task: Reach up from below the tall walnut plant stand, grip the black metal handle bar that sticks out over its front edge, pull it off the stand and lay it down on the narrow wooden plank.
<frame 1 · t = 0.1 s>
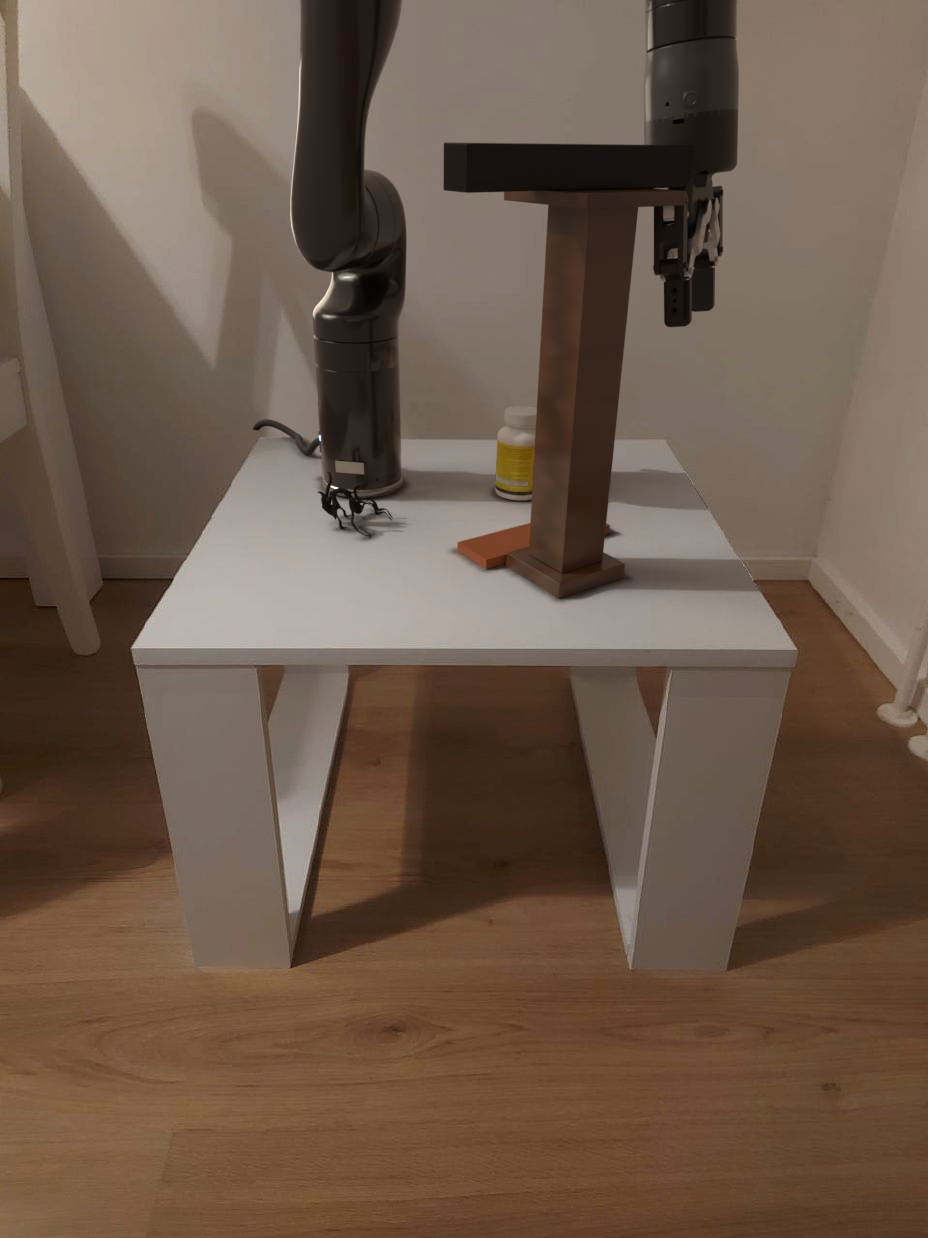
hand: (690, 318, 78), 22 cm above the table, tool pointing down, fingers open, 8 cm apart
wooden plank: (535, 542, 89), on the table
supplement bottle: (518, 494, 101), on the table
plant stand: (564, 571, 83), on the table
handle bar: (584, 188, 67), point 33 cm above the table, touching plant stand
creature: (358, 525, 93), on the table
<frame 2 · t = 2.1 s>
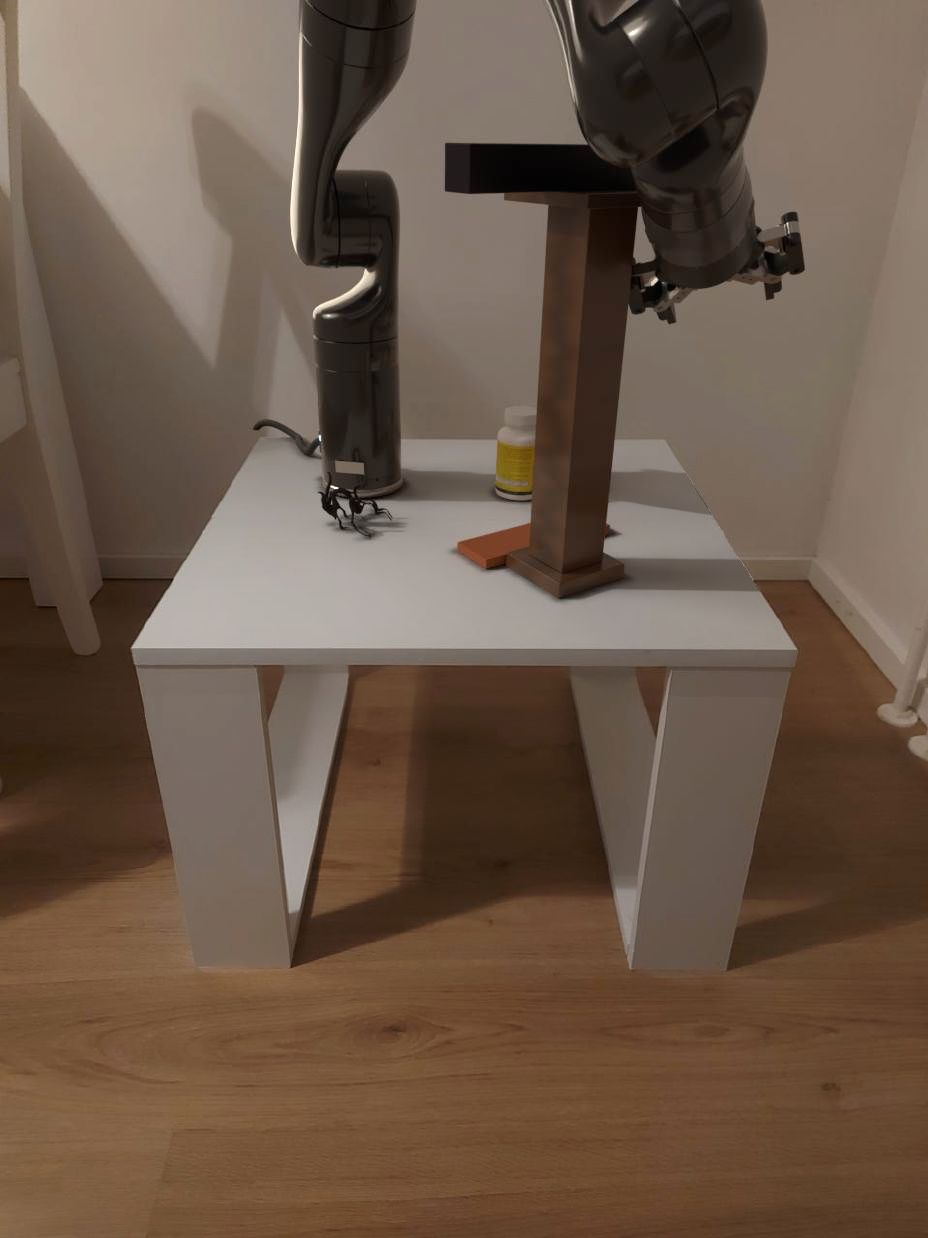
hand: (718, 301, 78), 24 cm above the table, tool tilted 60°, fingers open, 8 cm apart
handle bar: (574, 166, 66), point 34 cm above the table, tilted 90°, touching plant stand
everything else where it was.
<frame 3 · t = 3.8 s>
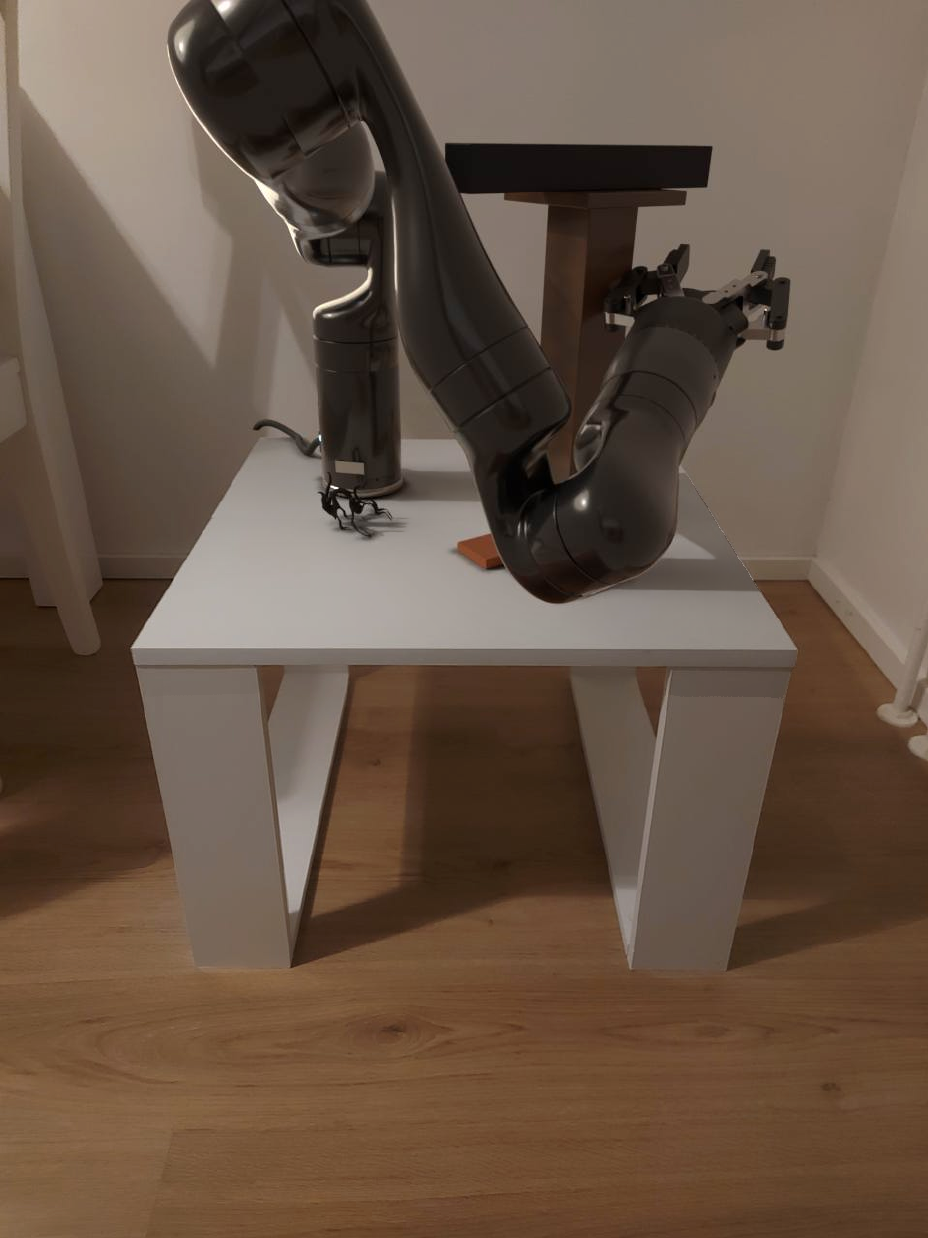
hand: (723, 257, 70), 28 cm above the table, tool pointing upward, fingers open, 5 cm apart
nothing on the table moved.
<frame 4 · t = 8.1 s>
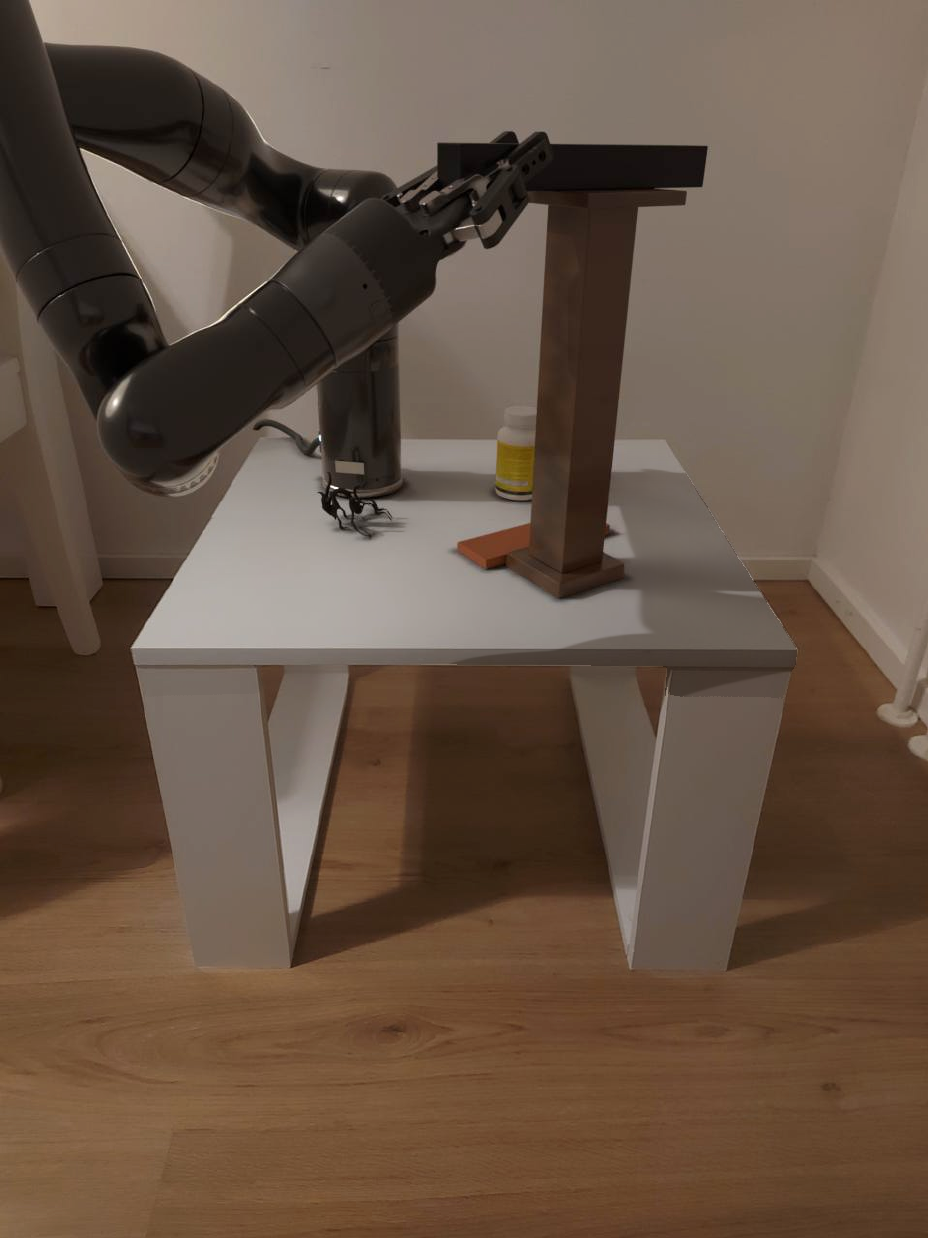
hand: (530, 144, 62), 36 cm above the table, tool pointing upward, fingers closed on handle bar, 3 cm apart
handle bar: (568, 165, 67), point 35 cm above the table, tilted 90°, touching gripper, plant stand
everything else where it was.
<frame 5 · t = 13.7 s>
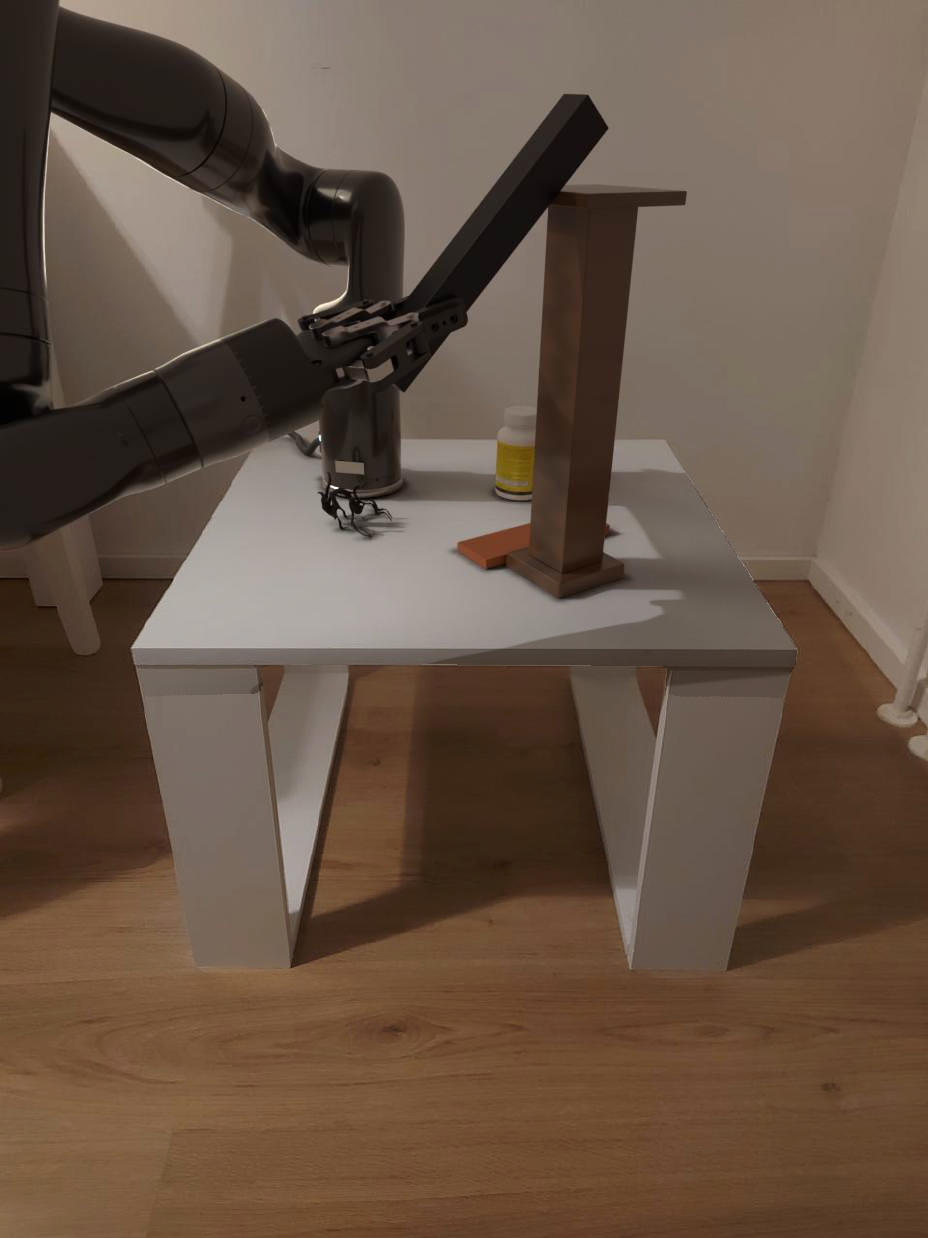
hand: (450, 304, 65), 25 cm above the table, tool pointing upward, fingers closed on handle bar, 3 cm apart
handle bar: (472, 241, 65), point 29 cm above the table, tilted 92°, touching gripper, plant stand
everything else where it was.
when the fingers open (6 cm above the table, at t = 19.5 s): handle bar drops 9 cm and tips over, resting on wooden plank.
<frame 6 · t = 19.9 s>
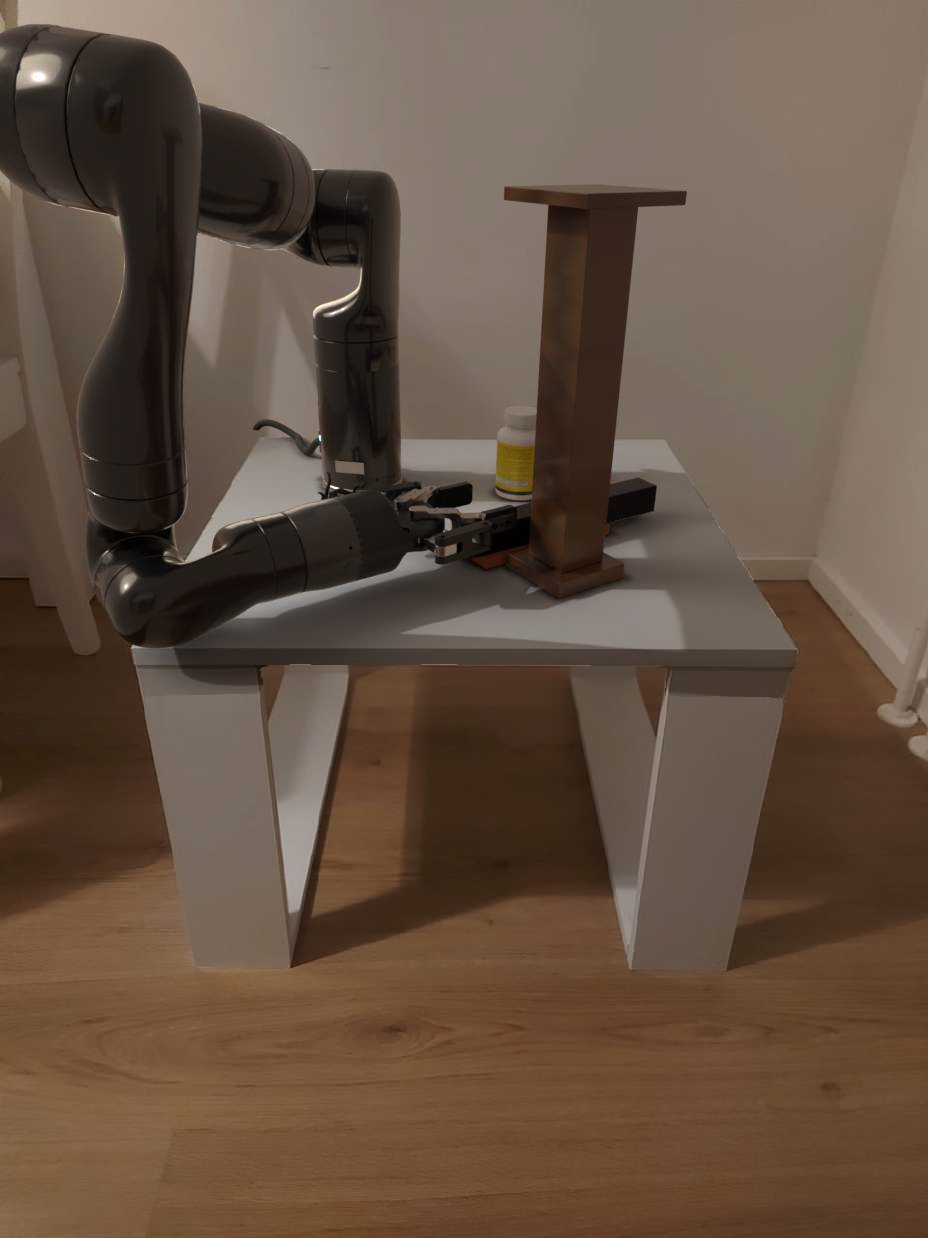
hand: (491, 503, 84), 5 cm above the table, tool horizontal, fingers open, 6 cm apart
handle bar: (550, 510, 90), point 2 cm above the table, tilted 90°, touching wooden plank
everything else where it was.
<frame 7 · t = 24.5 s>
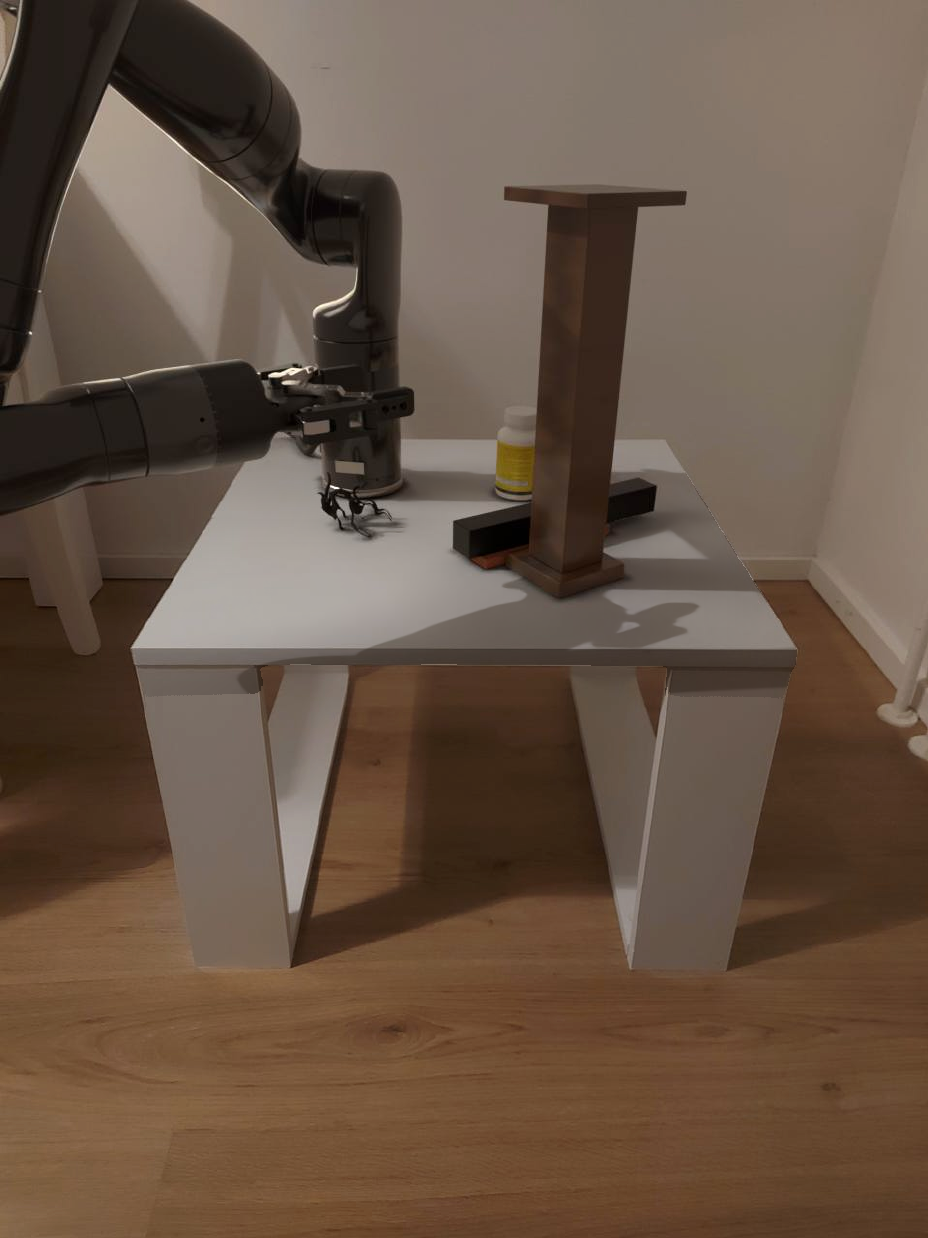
hand: (385, 388, 72), 18 cm above the table, tool horizontal, fingers open, 8 cm apart
nothing on the table moved.
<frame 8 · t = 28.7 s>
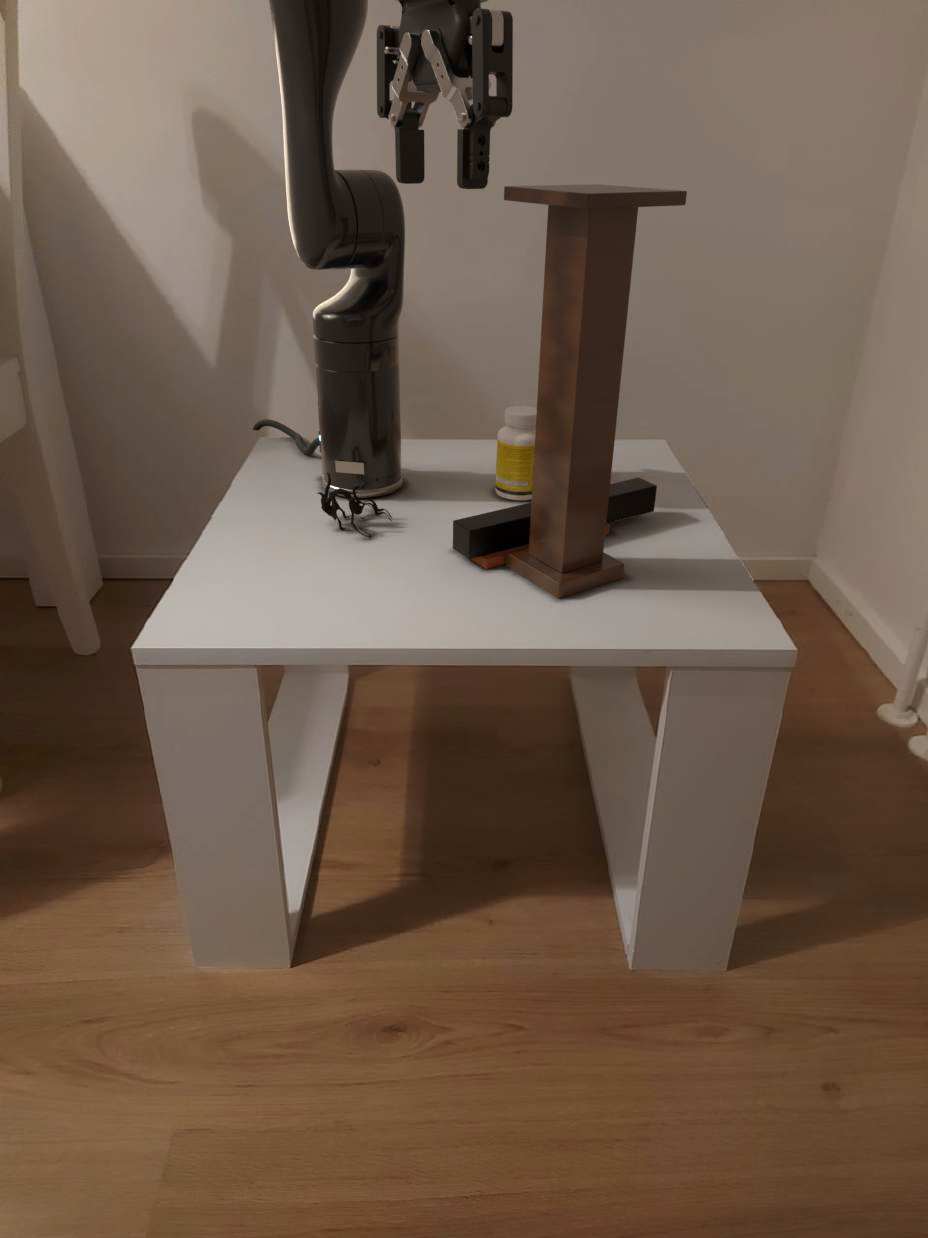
hand: (439, 185, 65), 33 cm above the table, tool pointing down, fingers open, 8 cm apart
nothing on the table moved.
at the end: handle bar inside the target area on the wooden plank (2.9 cm from its centre), point 2.5 cm above the wooden plank's base; the gripper is holding nothing; handle bar moved 32.1 cm from its start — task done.
